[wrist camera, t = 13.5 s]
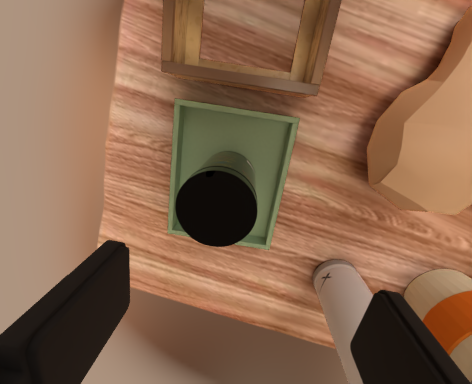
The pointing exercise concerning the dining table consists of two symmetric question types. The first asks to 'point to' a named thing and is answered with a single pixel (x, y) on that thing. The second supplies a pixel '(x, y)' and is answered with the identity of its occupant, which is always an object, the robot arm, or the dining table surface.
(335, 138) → the dining table surface
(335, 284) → the travel mug
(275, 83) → the brown wooden square frame
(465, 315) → the reusable coffee cup
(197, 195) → the supplement container
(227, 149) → the tray
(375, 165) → the squash
